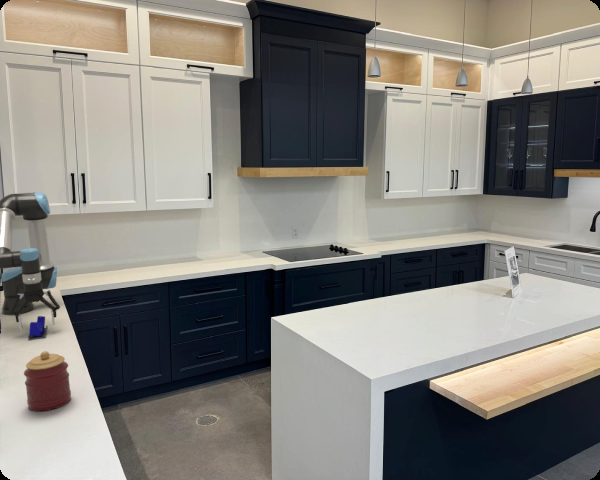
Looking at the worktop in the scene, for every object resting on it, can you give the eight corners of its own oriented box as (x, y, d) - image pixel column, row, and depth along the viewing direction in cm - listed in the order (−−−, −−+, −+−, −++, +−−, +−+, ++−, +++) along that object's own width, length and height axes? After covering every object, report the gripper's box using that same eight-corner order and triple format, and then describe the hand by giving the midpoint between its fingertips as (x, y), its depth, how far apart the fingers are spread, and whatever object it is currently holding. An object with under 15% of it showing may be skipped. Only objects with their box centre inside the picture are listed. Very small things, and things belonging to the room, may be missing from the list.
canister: (25, 415, 157) (19, 362, 154) (29, 398, 169) (23, 348, 166) (71, 406, 162) (65, 354, 159) (71, 390, 174) (66, 342, 171)
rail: (31, 330, 239) (31, 327, 239) (47, 328, 242) (47, 325, 242) (28, 340, 225) (28, 337, 225) (45, 338, 228) (45, 335, 228)
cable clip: (39, 336, 228) (40, 323, 228) (29, 335, 228) (30, 322, 227) (47, 328, 240) (48, 316, 240) (37, 328, 239) (38, 316, 239)
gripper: (0, 287, 222) (5, 333, 225) (62, 280, 231) (66, 324, 234) (2, 283, 228) (8, 328, 232) (62, 277, 238) (67, 320, 241)
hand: (37, 326), depth 233 cm, fingers open, 13 cm apart
